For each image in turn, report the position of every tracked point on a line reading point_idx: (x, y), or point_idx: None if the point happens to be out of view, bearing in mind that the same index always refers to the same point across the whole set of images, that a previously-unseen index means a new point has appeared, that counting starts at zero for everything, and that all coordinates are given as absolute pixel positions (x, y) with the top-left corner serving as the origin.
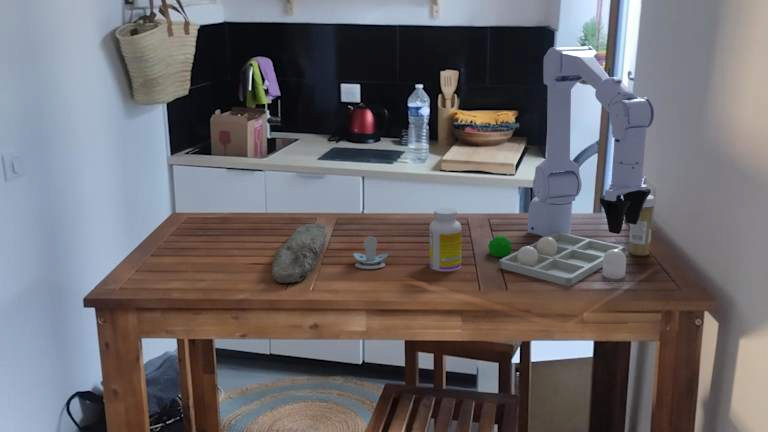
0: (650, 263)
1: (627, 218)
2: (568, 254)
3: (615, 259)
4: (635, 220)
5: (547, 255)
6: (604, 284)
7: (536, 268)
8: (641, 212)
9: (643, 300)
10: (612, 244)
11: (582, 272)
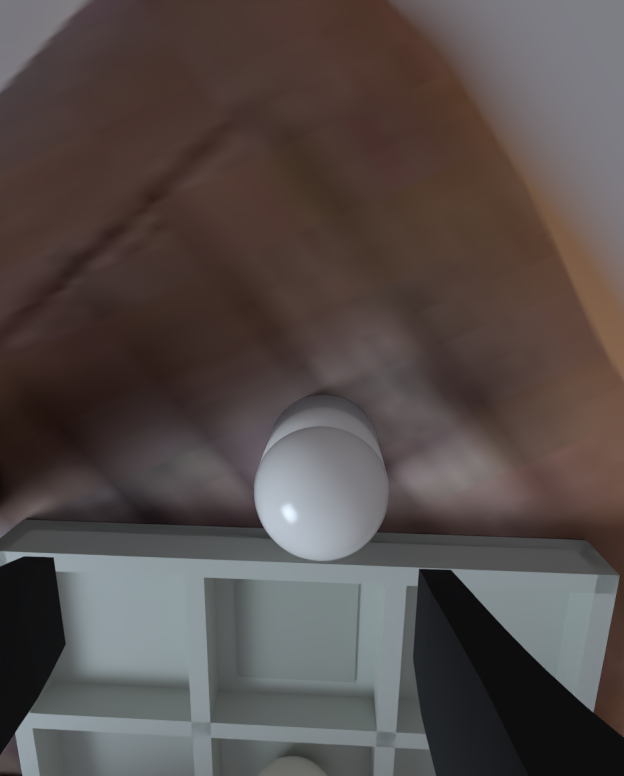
0: (8, 388)
1: (36, 673)
2: (256, 711)
3: (380, 474)
4: (25, 588)
5: (325, 772)
6: (421, 447)
7: None
8: None
9: (517, 206)
10: None
11: (479, 565)
